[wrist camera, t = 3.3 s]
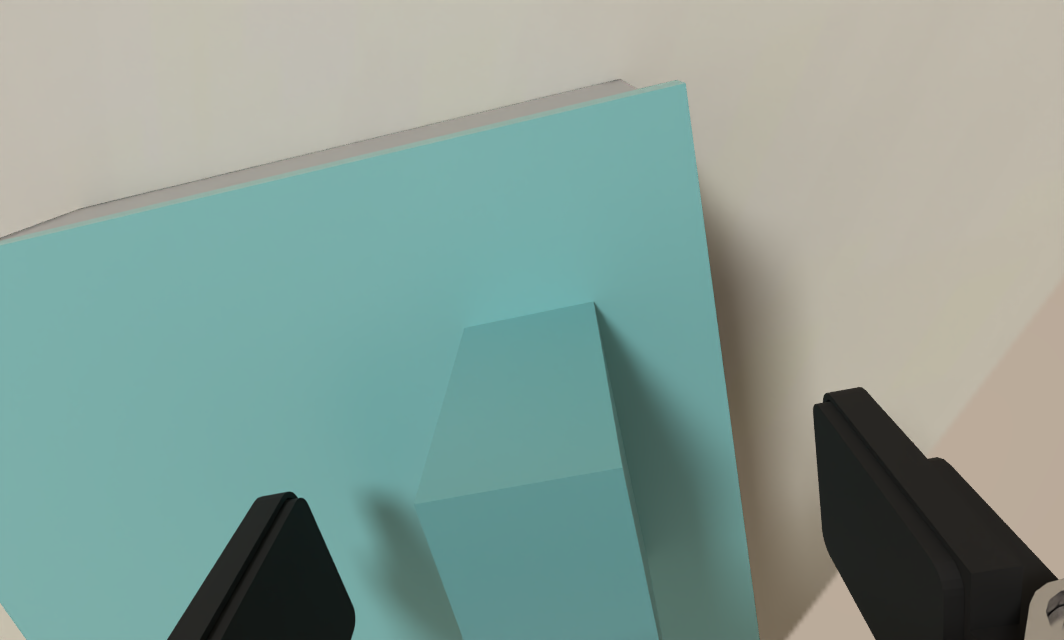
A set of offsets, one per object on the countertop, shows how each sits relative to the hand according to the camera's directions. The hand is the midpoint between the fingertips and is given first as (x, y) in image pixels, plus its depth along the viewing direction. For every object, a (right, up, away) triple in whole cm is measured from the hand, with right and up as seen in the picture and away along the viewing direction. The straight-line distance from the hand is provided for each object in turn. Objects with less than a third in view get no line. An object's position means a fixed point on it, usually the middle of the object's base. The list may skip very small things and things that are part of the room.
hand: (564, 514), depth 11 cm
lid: (-5, +1, +4) cm, 6 cm away
